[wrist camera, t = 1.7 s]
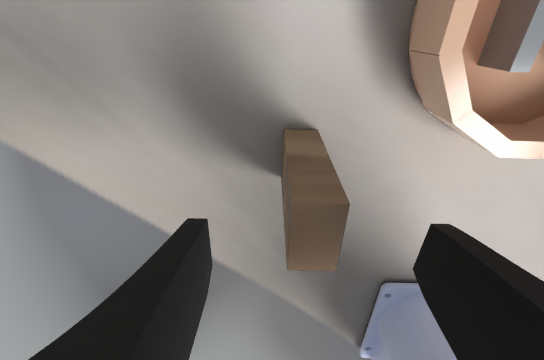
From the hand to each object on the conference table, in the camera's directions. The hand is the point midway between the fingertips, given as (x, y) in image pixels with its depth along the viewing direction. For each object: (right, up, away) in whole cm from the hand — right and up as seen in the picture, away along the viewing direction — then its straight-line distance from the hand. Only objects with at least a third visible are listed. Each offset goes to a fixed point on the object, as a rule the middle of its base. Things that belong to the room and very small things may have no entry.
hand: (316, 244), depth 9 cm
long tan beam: (0, +4, +6) cm, 7 cm away
